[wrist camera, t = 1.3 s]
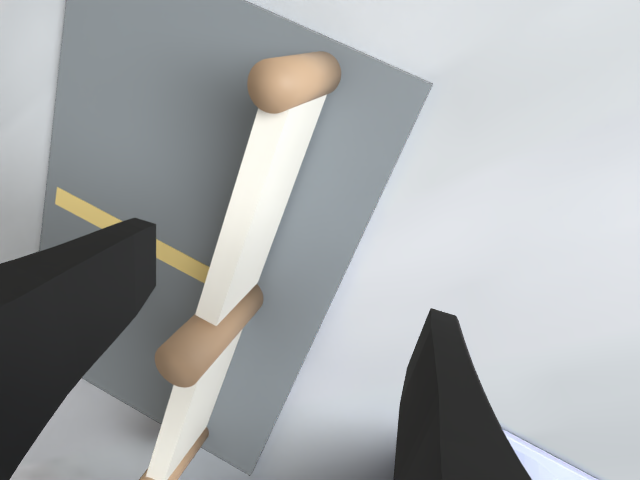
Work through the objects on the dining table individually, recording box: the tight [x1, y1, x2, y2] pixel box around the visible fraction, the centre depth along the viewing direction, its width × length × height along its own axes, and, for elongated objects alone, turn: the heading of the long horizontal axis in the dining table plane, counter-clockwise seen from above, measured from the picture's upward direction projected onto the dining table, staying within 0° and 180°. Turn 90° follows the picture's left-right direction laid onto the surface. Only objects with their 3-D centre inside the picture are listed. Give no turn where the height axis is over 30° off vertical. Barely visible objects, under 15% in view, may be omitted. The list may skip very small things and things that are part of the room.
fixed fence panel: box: [139, 284, 263, 480], centre depth 25 cm, size 12×2×6 cm, turn 159°
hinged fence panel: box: [195, 51, 341, 326], centre depth 20 cm, size 11×2×5 cm, turn 159°
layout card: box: [39, 0, 433, 476], centre depth 25 cm, size 16×24×1 cm, turn 158°
